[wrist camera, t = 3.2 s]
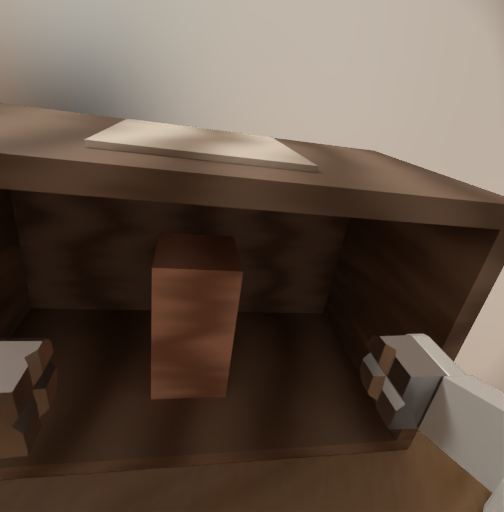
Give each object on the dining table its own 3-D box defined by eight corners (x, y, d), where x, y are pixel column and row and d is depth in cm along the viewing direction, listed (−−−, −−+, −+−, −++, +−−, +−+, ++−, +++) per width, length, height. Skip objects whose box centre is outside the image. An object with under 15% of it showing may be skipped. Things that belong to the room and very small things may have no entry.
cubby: (-112, 488, 17) (-326, 109, 9) (23, 309, 30) (-18, 96, 22) (407, 449, 23) (537, 200, 15) (327, 314, 36) (375, 147, 28)
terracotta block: (150, 399, 22) (151, 267, 18) (157, 347, 27) (159, 232, 22) (225, 396, 23) (243, 271, 19) (220, 347, 28) (233, 236, 23)
